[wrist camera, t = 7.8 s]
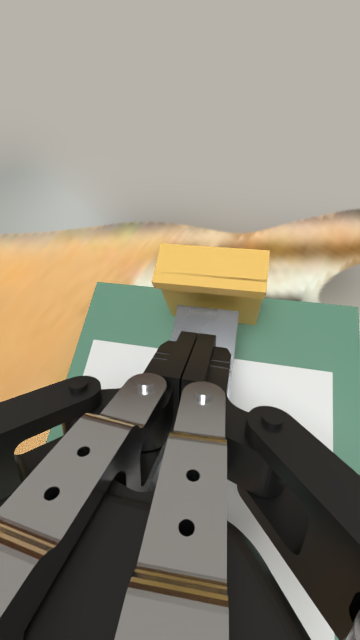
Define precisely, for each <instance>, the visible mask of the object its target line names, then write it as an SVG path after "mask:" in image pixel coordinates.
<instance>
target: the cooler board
mask: <svg viewBox="0 0 360 640" xmlns="http://www.w3.org/2000/svg"><path fill="white" fill-rule="evenodd" d="M269 253H270V251H268V250H253V249H238V248H222V247H207V246H192V245H176V244H161V246H160V250H159V254H158V258H157V262H156V266H155V270H154V275H153V279H152V284H153V286H154V287H144V286H134V285H123V284H113V283H102V282H97V285H96V288H95V291H94V294H93V297H92V300H91V303H90V307H89V310H88V313H87V316H86V319H85V322H84V326H83V329H82V332H81V335H80V338H79V341H78V344H77V348H76V351H75V354H74V357H73V360H72V363H71V366H70V370H69V373H68V376H67V379H69V378H72V377H76V376H92V377H95V378H96V379H98V380H99V381H100V383H101V389H116V388H121V387H122V386H123V385H124V384H125V383H126V381H127V380H128V379H129V378H131V377H132V376H134V375H137V374H142V373H143V372H144V371H145V369H146V367H147V366H148V364H149V363H150V361H151V359H152V358H153V356H154V354H155V353H156V351H157V350H158V348H159V346H160V345H161V344H163V343H165V342H166V341H168V340H169V341H171V336H172V331H173V326H174V321H175V316H176V311H177V305H184V306H193V307H203V308H212V309H222V310H231V311H239V317H238V325H237V334H236V342H235V351H234V360H233V368H232V377H231V385H230V394H229V400H230V402H231V403H232V404H234V405H235V406H236V407H238V408H240V409H242V410H244V411H247V412H249V411H250V410H252V409H253V408H255V407H258V406H272V407H276V408H279V409H281V410H283V411H285V412H287V413H288V414H289V415H291V416H292V417H293V418H294V419H295V420H296V421H297V422H299V423H300V424H301V425H302V426H303V427H304V428H306V429H307V430H308V431H309V432H310V433H311V434H312V435H314V436H315V437H316V438H317V439H318V440H319V441H321V442H322V443H323V444H324V445H325V446H326V447H327V448H329V449H330V450H331V451H332V452H333V453H334V454H336V455H337V456H338V457H339V458H340V459H341V460H343V461H344V462H345V463H346V464H347V465H348V466H349V467H351V468H352V469H353V470H354V471H355V472H356V473H358V474H359V475H360V340H359V316H358V307H352V306H342V305H331V304H321V303H311V302H301V301H290V300H280V299H269V298H265V295H266V290H267V277H268V265H269ZM61 436H63V430H62V424H61V425H58V426H56V427H54V428H51V429H50V433H49V436H48V439H47V442H46V443H48V442H50V441H52V440H55V439H57V438H59V437H61ZM227 521H229V522H230V523H232V524H233V525H234V526H235V527H237V528H238V529H239V530H240V531H241V532H242V533H243V534H244V535H245V536H246V537H247V538H248V539H249V540H250V541H251V542H252V544H253V545H254V546H255V548H256V549H257V550H258V552H259V553H260V555H261V556H262V558H263V559H264V561H265V563H266V564H267V566H268V568H269V570H270V571H271V573H272V575H273V576H274V578H275V580H276V581H277V583H278V585H279V586H280V588H281V590H282V591H283V593H284V595H285V596H286V598H287V600H288V601H289V603H290V605H291V607H292V608H293V610H294V612H295V613H296V615H297V617H298V618H299V620H300V622H301V623H302V625H303V627H304V628H305V630H306V632H307V633H308V635H309V637H310V638H311V640H339V639H338V638H337V636H336V635H335V633H334V632H333V630H332V629H331V628H330V626H329V625H328V623H327V622H326V620H325V619H324V617H323V616H322V615H321V613H320V612H319V610H318V609H317V607H316V606H315V604H314V603H313V601H312V600H311V599H310V597H309V596H308V594H307V593H306V591H305V590H304V588H303V587H302V585H301V584H300V583H299V581H298V580H297V578H296V577H295V575H294V574H293V572H292V571H291V569H290V568H289V567H288V565H287V564H286V562H285V561H284V559H283V558H282V556H281V555H280V553H279V552H278V551H277V549H276V548H275V546H274V545H273V543H272V542H271V540H270V539H269V538H268V536H267V535H266V533H265V532H264V530H263V529H262V527H261V526H260V524H259V523H258V522H257V520H256V519H255V517H254V516H253V514H252V513H251V511H250V510H249V508H248V507H247V506H246V504H245V503H244V501H243V500H242V498H241V497H240V495H239V493H238V490H237V484H235V483H233V482H231V481H229V480H227Z"/></svg>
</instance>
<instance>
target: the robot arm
mask: <svg viewBox="0 0 360 640" xmlns="http://www.w3.org/2000/svg"><path fill="white" fill-rule="evenodd" d="M230 363H231V353H230V352H229V350H228V349H227V348H223V347H216V335H211V334H202V333H199V334H198V333H194V332H186V331H181V333H180V335H179V336H178V338H177V340H176V341H169V340H168V341H166V342H165V343H163V344H161V345H160V346H159V348H158V350H157V351H156V353H155V354H154V356H153V358H152V359H151V361H150V363H149V364H148V366H147V367H146V369H145V371H144V372H143V373H142V374H137V375H134V376H132V377H131V378H129V379H128V380H127V381H126V383H125V384H124V385H123V386H122V387H121V388H116V389H101V383H100V381H99V380H98V379H96V378H95V377H92V376H76V377H72V378H69V379H66V380H63V381H61V382H58V383H55V384H52V385H49V386H46V387H43V388H40V389H38V390H35V391H32V392H29V393H26V394H23V395H20V396H17V397H15V398H12V399H9V400H6V401H3V402H0V640H311V638H310V637H309V635H308V633H307V632H306V630H305V628H304V627H303V625H302V623H301V622H300V620H299V618H298V617H297V615H296V613H295V612H294V610H293V608H292V607H291V605H290V603H289V601H288V600H287V598H286V596H285V595H284V593H283V591H282V590H281V588H280V586H279V585H278V583H277V581H276V580H275V578H274V576H273V575H272V573H271V571H270V570H269V568H268V566H267V564H266V563H265V561H264V559H263V558H262V556H261V555H260V553H259V552H258V550H257V549H256V548H255V546H254V545H253V544H252V542H251V541H250V540H249V539H248V538H247V537H246V536H245V535H244V534H243V533H242V532H241V531H240V530H239V529H238V528H237V527H235V526H234V525H233V524H232V523H230V522H229V521H227V480H229V481H231V482H233V483H235V484H237V490H238V493H239V495H240V497H241V498H242V500H243V501H244V503H245V504H246V506H247V507H248V508H249V510H250V511H251V513H252V514H253V516H254V517H255V519H256V520H257V522H258V523H259V524H260V526H261V527H262V529H263V530H264V532H265V533H266V535H267V536H268V538H269V539H270V540H271V542H272V543H273V545H274V546H275V548H276V549H277V551H278V552H279V553H280V555H281V556H282V558H283V559H284V561H285V562H286V564H287V565H288V567H289V568H290V569H291V571H292V572H293V574H294V575H295V577H296V578H297V580H298V581H299V583H300V584H301V585H302V587H303V588H304V590H305V591H306V593H307V594H308V596H309V597H310V599H311V600H312V601H313V603H314V604H315V606H316V607H317V609H318V610H319V612H320V613H321V615H322V616H323V617H324V619H325V620H326V622H327V623H328V625H329V626H330V628H331V629H332V630H333V632H334V633H335V635H336V636H337V638H338V639H339V640H360V475H359V474H358V473H356V472H355V471H354V470H353V469H352V468H351V467H349V466H348V465H347V464H346V463H345V462H344V461H343V460H341V459H340V458H339V457H338V456H337V455H336V454H334V453H333V452H332V451H331V450H330V449H329V448H327V447H326V446H325V445H324V444H323V443H322V442H321V441H319V440H318V439H317V438H316V437H315V436H314V435H312V434H311V433H310V432H309V431H308V430H307V429H306V428H304V427H303V426H302V425H301V424H300V423H299V422H297V421H296V420H295V419H294V418H293V417H292V416H291V415H289V414H288V413H287V412H285V411H283V410H281V409H279V408H276V407H272V406H258V407H255V408H253V409H252V410H250V411H249V412H247V411H244V410H242V409H240V408H238V407H236V406H235V405H234V404H232V403H231V402H230V400H229V399H228V397H227V389H228V380H229V372H230ZM61 424H62V430H63V436H61V437H59V438H57V439H55V440H52V441H50V442H48V443H46V444H44V445H42V446H39V447H37V448H35V449H33V450H31V451H28V452H26V453H24V454H21V455H14V451H15V449H16V447H17V446H18V445H19V444H20V443H21V442H22V441H24V440H26V439H28V438H31V437H33V436H35V435H37V434H40V433H42V432H44V431H47V430H49V429H51V428H54V427H56V426H58V425H61ZM167 438H168V440H167ZM166 441H167V444H166ZM163 455H164V456H163ZM162 457H163V460H162V464H161V468H160V472H159V476H158V480H157V484H156V489H155V492H147V491H148V489H149V486H150V484H151V482H152V480H153V477H154V475H155V473H156V471H157V468H158V466H159V464H160V461H161V459H162Z"/></svg>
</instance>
